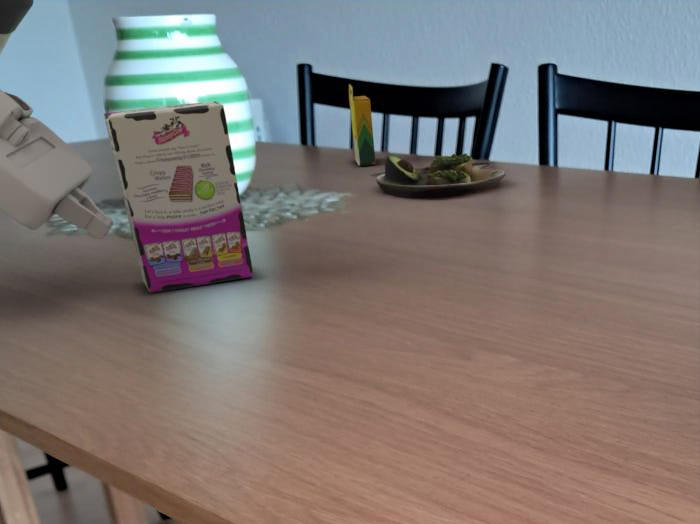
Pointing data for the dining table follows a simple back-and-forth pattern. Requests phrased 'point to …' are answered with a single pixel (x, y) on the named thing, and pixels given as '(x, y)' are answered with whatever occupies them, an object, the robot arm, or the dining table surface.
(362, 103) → the crayon box
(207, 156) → the candy bar box
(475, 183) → the salad plate
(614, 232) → the dining table surface
